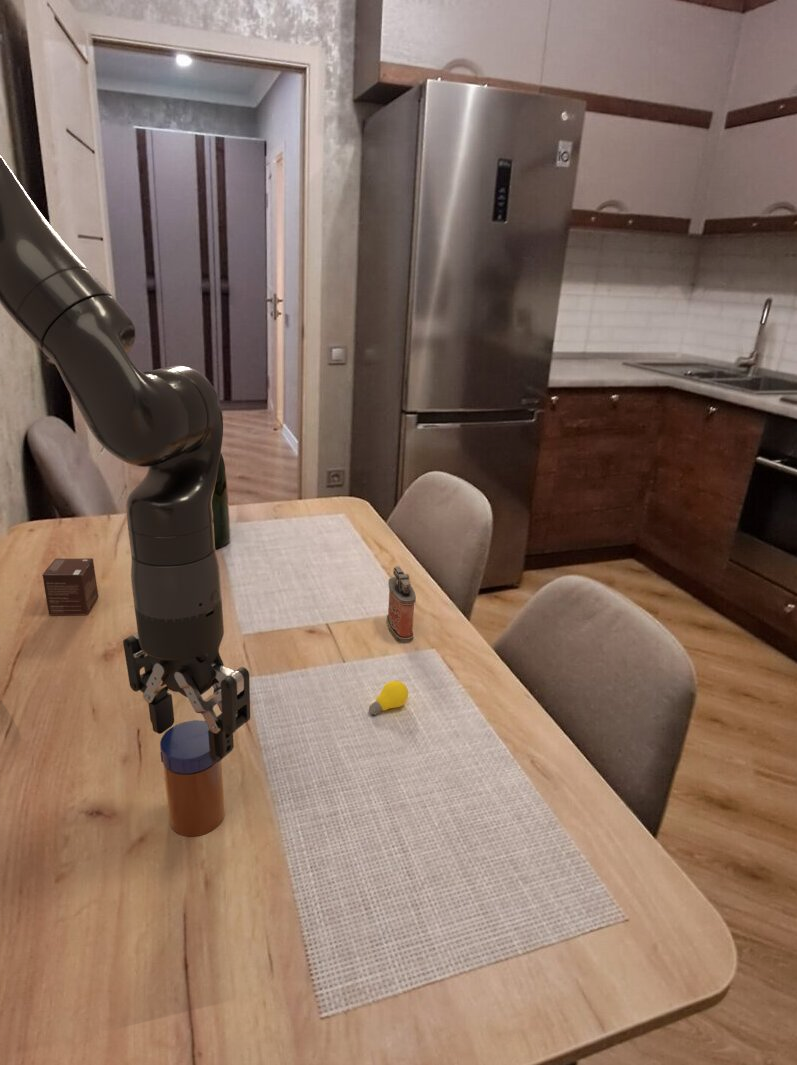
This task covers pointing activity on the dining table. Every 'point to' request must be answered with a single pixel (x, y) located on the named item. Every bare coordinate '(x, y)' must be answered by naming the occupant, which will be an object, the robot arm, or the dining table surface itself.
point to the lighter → (401, 606)
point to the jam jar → (195, 800)
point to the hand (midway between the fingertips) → (192, 741)
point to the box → (70, 586)
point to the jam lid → (186, 747)
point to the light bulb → (390, 697)
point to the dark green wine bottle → (221, 507)
